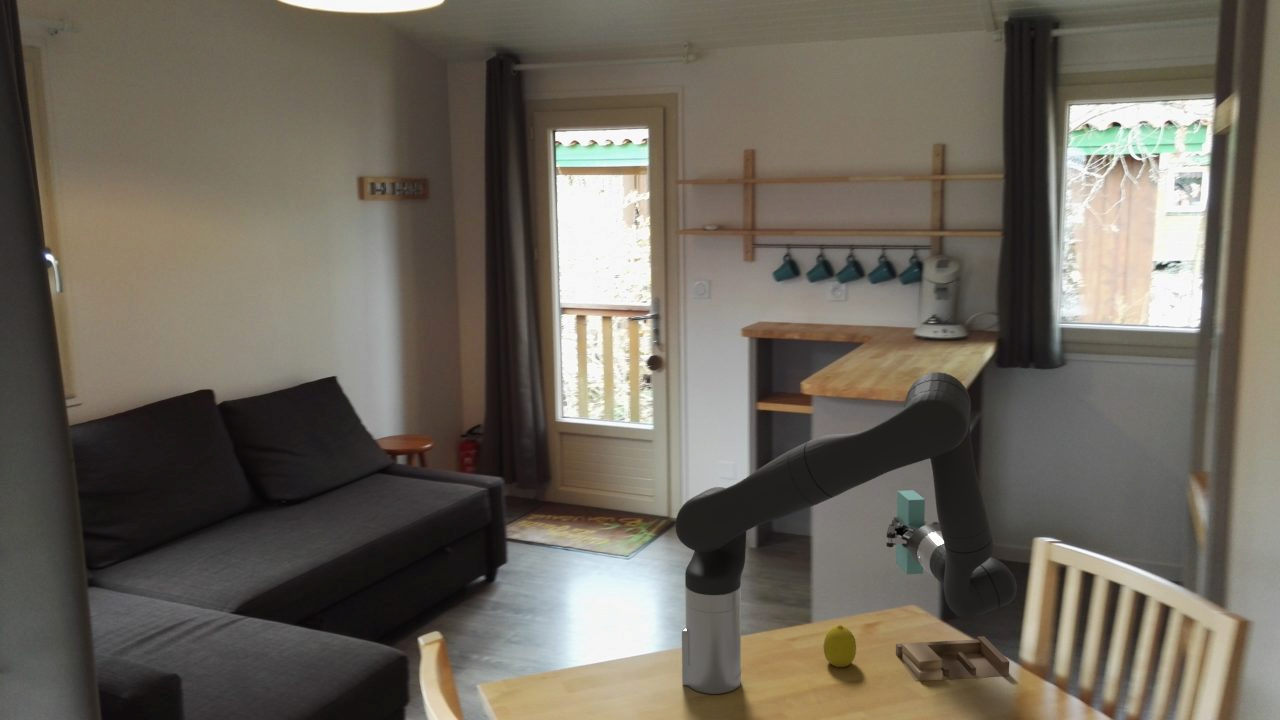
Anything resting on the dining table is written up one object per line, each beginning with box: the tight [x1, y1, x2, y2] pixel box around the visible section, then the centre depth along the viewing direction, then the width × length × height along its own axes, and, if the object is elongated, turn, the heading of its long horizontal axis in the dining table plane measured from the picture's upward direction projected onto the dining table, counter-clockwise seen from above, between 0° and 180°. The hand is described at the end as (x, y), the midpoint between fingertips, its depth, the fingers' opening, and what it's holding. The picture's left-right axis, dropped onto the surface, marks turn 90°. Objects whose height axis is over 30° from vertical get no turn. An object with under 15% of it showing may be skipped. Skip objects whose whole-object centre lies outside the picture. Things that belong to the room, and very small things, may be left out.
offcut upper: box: [901, 641, 942, 670], centre depth 171 cm, size 4×7×2 cm, turn 9°
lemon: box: [823, 624, 857, 668], centre depth 174 cm, size 6×6×8 cm
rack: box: [895, 635, 1010, 682], centre depth 173 cm, size 16×10×4 cm, turn 95°
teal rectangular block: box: [895, 489, 926, 575], centre depth 185 cm, size 3×6×14 cm, turn 5°
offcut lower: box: [902, 654, 943, 682], centre depth 171 cm, size 4×8×2 cm, turn 5°
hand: (904, 521), depth 188 cm, fingers closed on teal rectangular block, 3 cm apart
